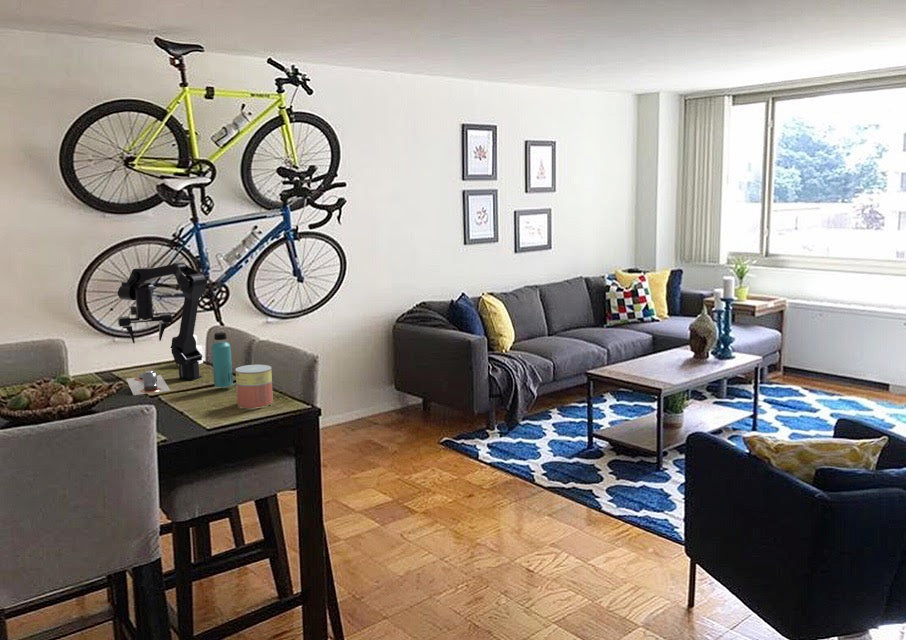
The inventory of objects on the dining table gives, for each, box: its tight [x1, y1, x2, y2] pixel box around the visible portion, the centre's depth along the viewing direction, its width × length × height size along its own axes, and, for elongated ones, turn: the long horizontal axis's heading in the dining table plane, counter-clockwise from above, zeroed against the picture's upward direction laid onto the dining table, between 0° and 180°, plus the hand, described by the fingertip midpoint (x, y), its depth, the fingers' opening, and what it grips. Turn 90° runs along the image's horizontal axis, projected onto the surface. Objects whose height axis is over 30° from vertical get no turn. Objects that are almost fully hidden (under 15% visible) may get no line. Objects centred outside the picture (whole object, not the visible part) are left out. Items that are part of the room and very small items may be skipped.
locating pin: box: [142, 370, 158, 391], centre depth 265 cm, size 4×4×7 cm
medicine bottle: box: [177, 334, 204, 366], centre depth 304 cm, size 7×7×12 cm
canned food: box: [235, 363, 274, 409], centre depth 246 cm, size 11×11×12 cm
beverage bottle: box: [211, 332, 234, 388], centre depth 265 cm, size 6×7×20 cm
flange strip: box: [125, 372, 171, 396], centre depth 274 cm, size 26×12×2 cm, turn 28°
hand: (147, 342), depth 289 cm, fingers open, 9 cm apart
